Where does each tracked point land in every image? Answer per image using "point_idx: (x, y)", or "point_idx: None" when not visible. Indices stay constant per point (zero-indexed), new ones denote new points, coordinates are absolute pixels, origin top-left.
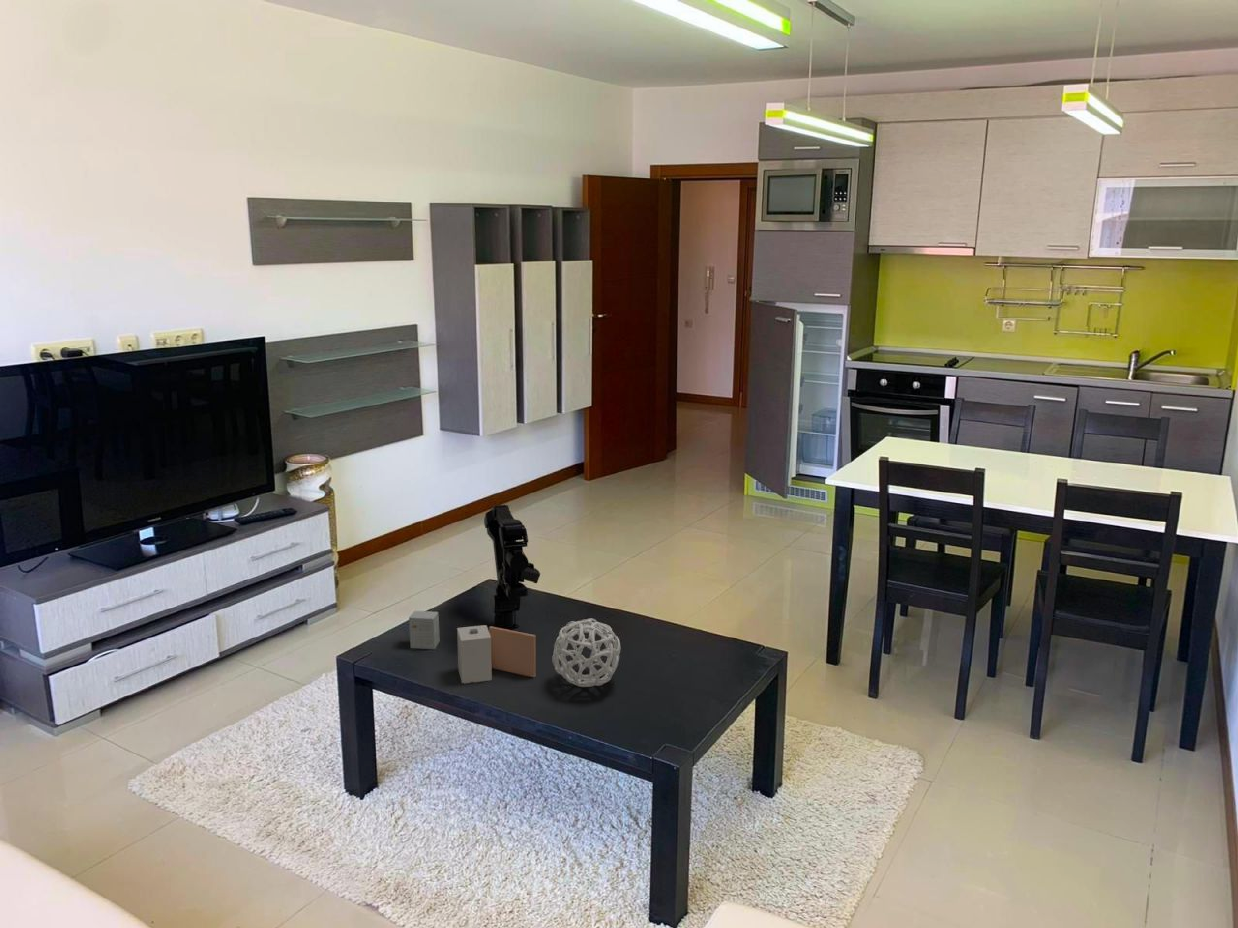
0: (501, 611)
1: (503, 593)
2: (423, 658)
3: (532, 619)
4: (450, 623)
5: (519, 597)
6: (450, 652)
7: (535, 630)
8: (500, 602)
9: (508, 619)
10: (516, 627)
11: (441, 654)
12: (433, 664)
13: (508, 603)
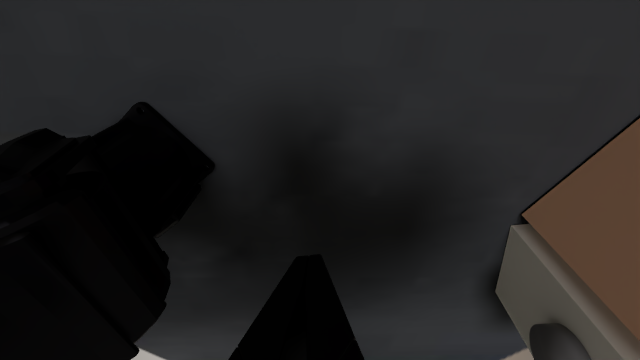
0: (147, 232)
1: (74, 349)
2: (393, 348)
3: (20, 20)
4: (166, 307)
5: (11, 193)
6: (370, 306)
7: (167, 7)
8: (154, 302)
9: (162, 173)
10: (157, 113)
11: (378, 321)
12: (435, 333)
13: (133, 250)
